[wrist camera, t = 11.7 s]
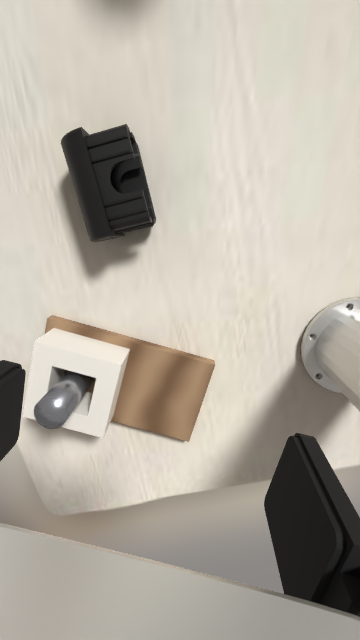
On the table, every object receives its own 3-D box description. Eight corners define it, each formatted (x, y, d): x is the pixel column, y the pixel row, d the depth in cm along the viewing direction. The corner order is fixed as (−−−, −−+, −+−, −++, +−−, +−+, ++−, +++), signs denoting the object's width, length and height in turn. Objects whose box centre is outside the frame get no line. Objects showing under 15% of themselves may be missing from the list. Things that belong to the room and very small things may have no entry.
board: (214, 360, 41) (214, 365, 40) (189, 434, 44) (188, 441, 43) (52, 315, 40) (47, 318, 39) (39, 394, 44) (33, 399, 42)
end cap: (76, 153, 35) (49, 135, 29) (135, 136, 34) (122, 113, 28) (102, 241, 38) (82, 243, 31) (158, 227, 37) (150, 226, 31)
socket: (130, 349, 40) (121, 365, 35) (113, 414, 42) (103, 438, 38) (53, 327, 39) (34, 341, 34) (42, 395, 42) (22, 416, 37)
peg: (99, 364, 40) (69, 403, 31) (94, 387, 41) (64, 432, 32) (74, 357, 40) (36, 394, 31) (69, 380, 41) (31, 423, 31)
